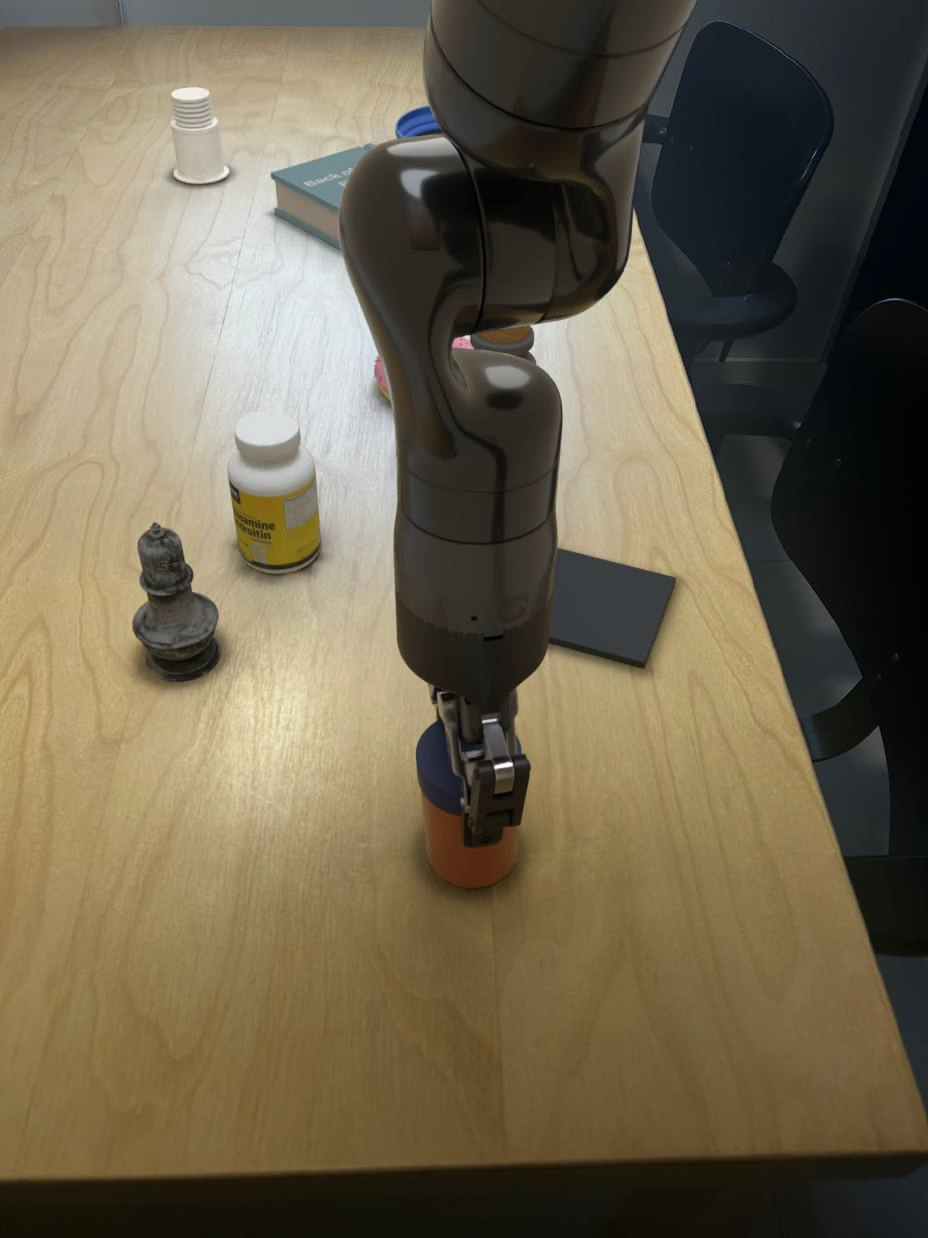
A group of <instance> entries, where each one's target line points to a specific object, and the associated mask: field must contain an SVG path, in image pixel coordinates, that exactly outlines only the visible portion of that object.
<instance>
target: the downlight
mask: <svg viewBox="0 0 928 1238" xmlns="http://www.w3.org/2000/svg"><path fill="white" fill-rule="evenodd" d="M170 96H171V101H172V108H173V113H174V119H172V120H171V121H170V127H171V134H172V140H173V147H174V153H175V159H176V160H175V161H176V168H175V169H174V171H173V176H174V178H175V179H176V180H178V181H180V182H183V183H187V184H197V185H205V184H210V183H215V182H218V181H221V180H223V179H225V178H227V177H228V176H229V174H230V168H229V167H228V166H227V165H226V164H224V157H223V150H222V141H221V134H220V126H219V125H220V124H219V119H218V118H217V117H215V116H213V111H212V103H211V95H210V91H209V90H208V89H206V88H202V87H195V86H192V87H189V86H188V87H181V88H177V89H175V90H173V91H172V92H171V94H170ZM178 169H179V171H180V172H179V171H178ZM219 171H220V172H219ZM181 172H182V173H185V174H190V175H196V176H200V177H196V176H189V175H185V174H182V173H181ZM217 172H218V173H217ZM215 173H216V174H215ZM211 174H212V175H211ZM203 175H207V176H203Z"/></svg>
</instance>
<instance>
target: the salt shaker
mask: <svg viewBox="0 0 928 1238" xmlns="http://www.w3.org/2000/svg"><path fill="white" fill-rule="evenodd" d="M137 553H138V556H139V561H140V566H141V570H142V571H141V572H140V574H139V578H138V582H139V583H138V584H139V585H140V587H141V589H142V590H143V591H144V592H146V596H147V601H145V602H144V603H143V604H142V605H140V607H139V608H138V609H137V610H136V611H135V613H134V616H133V618H132V620H131V626H132V632H133V634H134V636H135V638H137V640H138V641H140V643H142V645H143V646H144V647H145V648H146V649H147V650H146V653H145V656H144V657H145V658H144V659H145V666H146V667H147V670H148V671H149V673H151V674H152V675H153V676H154V677H156V678H158V679H160V680H162V681H167V682H172V683H173V682H174V683H183V682H189V681H193V680H196V679H199V678H201V677H203V676H204V675H206V674H208V673H209V672H211V671H212V670H213V669H214V668H215V667H216V666H217V664H218V662H219V661H220V659H221V654H222V650H221V644H220V642H219V640H218V639H217V638H216V637H215V636H214V634H215V630H216V627H217V626H218V622H219V619H220V618H219V608H218V606H217V605H216V603H215V601H213V600H212V599H211V598H210V597H208V596H206V595H204V594H202V593H200V592H196V591H193V587H192V583H193V581H194V577H195V575H194V570H193V568H192V567H191V566H190V564H188V563H186V558H185V554H184V548H183V543H182V539H181V537H180V536H179V534H178V533H176V531H174V530H173V529H170V528H169V527H164V526H163V527H162V525H161V524H159V523H158V522H156V521H154V522H153V523H152V524H151V526H150V528H149V529H148V530H146V531H145V532H143V533H142V534H141V535H140V537H139V538H138V540H137Z"/></svg>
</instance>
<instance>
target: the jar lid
mask: <svg viewBox="0 0 928 1238" xmlns="http://www.w3.org/2000/svg"><path fill="white" fill-rule="evenodd" d="M516 745H517V755H518V754H523V751H522V750H523V749H522V744H521V741H520V739H519V737H518V734H516ZM460 747H461V751H462V752H469V751H474V750H480V749H484V746H483V743H482V744H476V745H466V744H464V743H463V742H461V741H460ZM415 764H416V777H417V781H418V782H417V783H418V785H419V788H420V791H421V790H422V792H423V794H424V795H425V796H426V797H427V799H428V800H429V801H430V802H432V803H433V804H434V805H435V806H437V807H439V808H440V809H443V810H445V811H447V812H450V813H454V814H459V815H461V804H460V797H461V789H460V779H459V777H458V776H456V775H455V774H454V772H453V770H452V768H451V766H450V764H449V761H448V753H447V742H446V732H445V725H444V723H443V721H442V719H439V720H437V721H433V723H431V724H430V725H428V727H427V728H426V729H424V731H423V733H422V734H421V735H420V737H419V738H418V741H417V744H416V748H415ZM472 781H473V778H472Z"/></svg>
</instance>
